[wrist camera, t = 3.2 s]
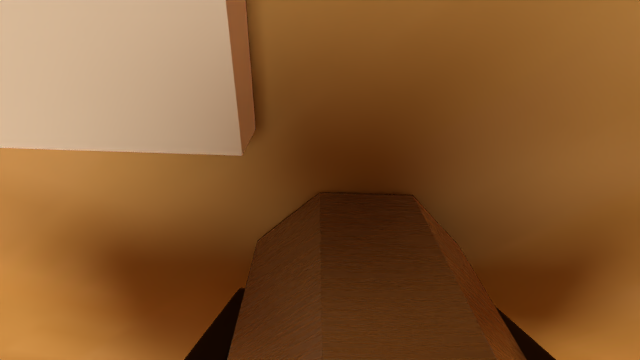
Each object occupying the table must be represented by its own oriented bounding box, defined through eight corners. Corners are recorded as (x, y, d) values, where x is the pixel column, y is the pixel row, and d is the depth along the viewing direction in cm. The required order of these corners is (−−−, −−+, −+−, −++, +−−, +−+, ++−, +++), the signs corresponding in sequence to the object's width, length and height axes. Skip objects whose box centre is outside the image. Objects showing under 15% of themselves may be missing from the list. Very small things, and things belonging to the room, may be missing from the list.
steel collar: (477, 197, 8) (651, 402, 4) (426, 329, 12) (490, 520, 7) (252, 190, 8) (179, 398, 4) (265, 326, 11) (234, 521, 7)
